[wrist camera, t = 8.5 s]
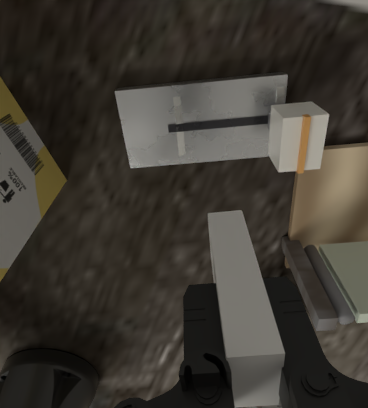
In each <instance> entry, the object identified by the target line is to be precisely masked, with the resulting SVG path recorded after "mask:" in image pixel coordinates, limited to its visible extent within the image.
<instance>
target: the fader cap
mask: <svg viewBox="0 0 368 408" xmlns="http://www.w3.org/2000/svg"><path fill="white" fill-rule="evenodd" d="M328 119H329V114H328V113H327V112H326V111H324V110H323V109H321V108H320V107H319V106H317V105H316V104H314V103H313V102H301V103H290V104H280V105H271V112H268V129H269V131H270V132H269V147H268V155H269V157H270V159H271V160H272V162H273V164H274V166H275V167H276V169H277V171H278V172H289V171H296V172H297V173H298V174H300V173H304V170H313V169H320V166H321V160H322V154H323V149H324V143H325V137H326V131H327V125H328Z"/></svg>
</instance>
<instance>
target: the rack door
mask: <svg viewBox="0 0 368 408" xmlns="http://www.w3.org/2000/svg"><path fill="white" fill-rule="evenodd" d="M304 251H305V253H306V255H307V257H308V259H309V261H310V263H311V265H312V267H313V269H314V271H315V273H316V275H317V277H318V279H319V281H320V283H321V284H322V286H323V288H324V290H325V292H326V294H327V296H328V298H329V300H330V302H331V304H332V306H333V308H334V310H335V312H336V314H337V316H338V322H339V323H340V324H349V323H351V322H353V321H354V320H356V322H357V323H363V322H368V241H362V242H349V243H335V244H322V245H319V250H317V248H316V247H315V246H314V245H307V246H306V247H304Z"/></svg>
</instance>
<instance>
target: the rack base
mask: <svg viewBox="0 0 368 408" xmlns="http://www.w3.org/2000/svg"><path fill="white" fill-rule="evenodd" d="M362 241H368V142H367V143H356V144H344V145H333V146H324V149H323V154H322V160H321V166H320V169H313V170H304V173H300V174H298V173H297V172H296V173H295V181H294V189H293V197H292V206H291V214H290V222H289V230H288V236H283V237H282V246H281V247H282V250H283V252H284V255H285V266H286V268H290V269H291V271H292V274H293V276H294V279H295V281H296V283H297V286H298V288H299V291H300V293H301V295H302V298H303V300H304V303H305V305H306V307H307V310H308V312H309V315H310V317H311V319H312V322H313V324H314V327H315V329H316V331H324V330H335V328H336V325H337V322H338V316H337V314H336V312H335V310H334V308H333V306H332V304H331V302H330V300H329V298H328V296H327V294H326V292H325V290H324V288H323V286H322V284H321V283H320V281H319V279H318V277H317V275H316V273H315V271H314V269H313V267H312V265H311V263H310V261H309V259H308V257H307V255H306V253H305V251H304V247H306V246H307V245H314V246H315V247H316V248H317V250H319V245H322V244H335V243H349V242H362Z"/></svg>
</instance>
